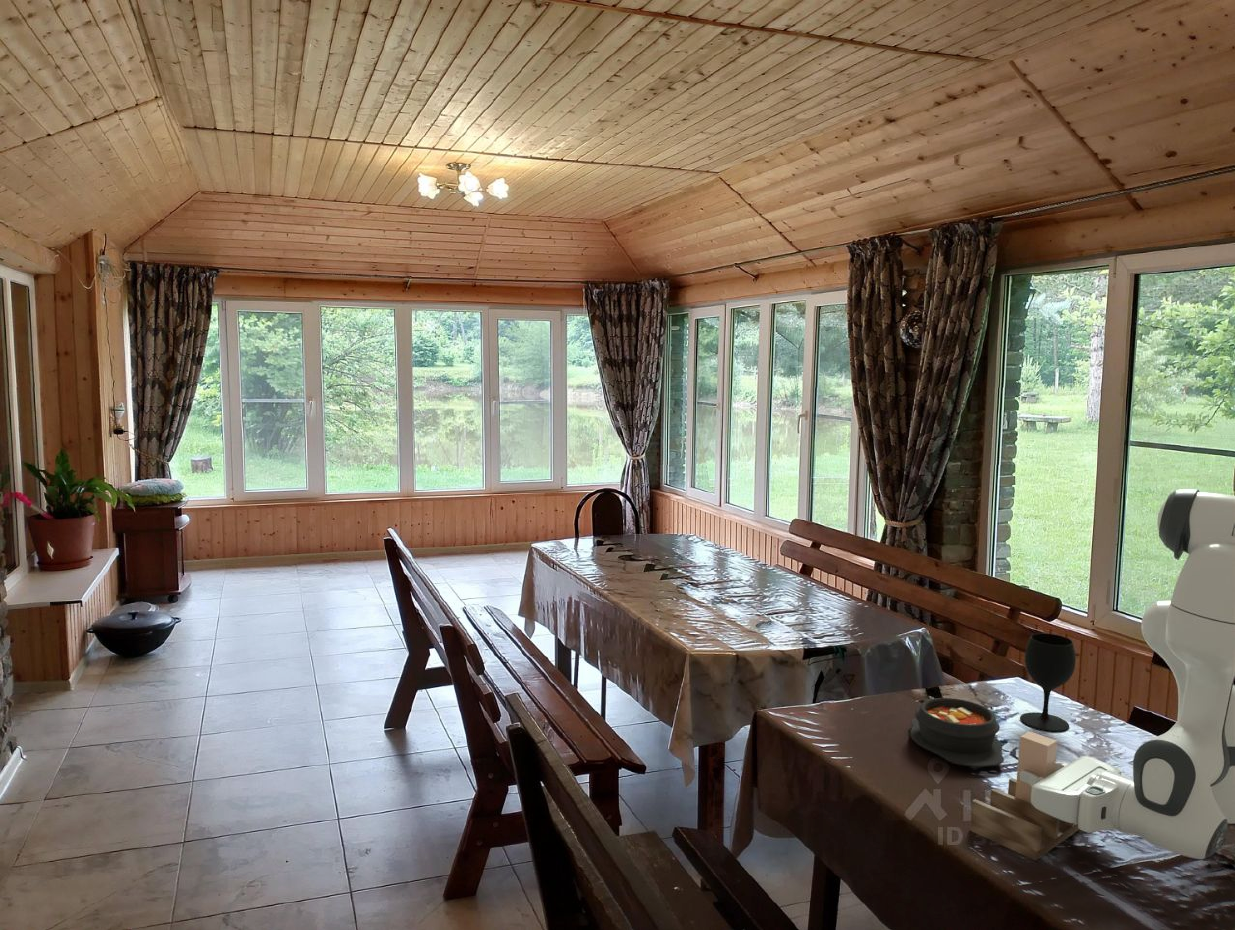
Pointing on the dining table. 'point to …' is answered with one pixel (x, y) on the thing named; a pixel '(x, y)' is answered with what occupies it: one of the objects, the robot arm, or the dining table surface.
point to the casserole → (958, 732)
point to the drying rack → (1018, 824)
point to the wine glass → (1048, 675)
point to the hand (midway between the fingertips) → (1030, 768)
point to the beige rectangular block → (1034, 760)
